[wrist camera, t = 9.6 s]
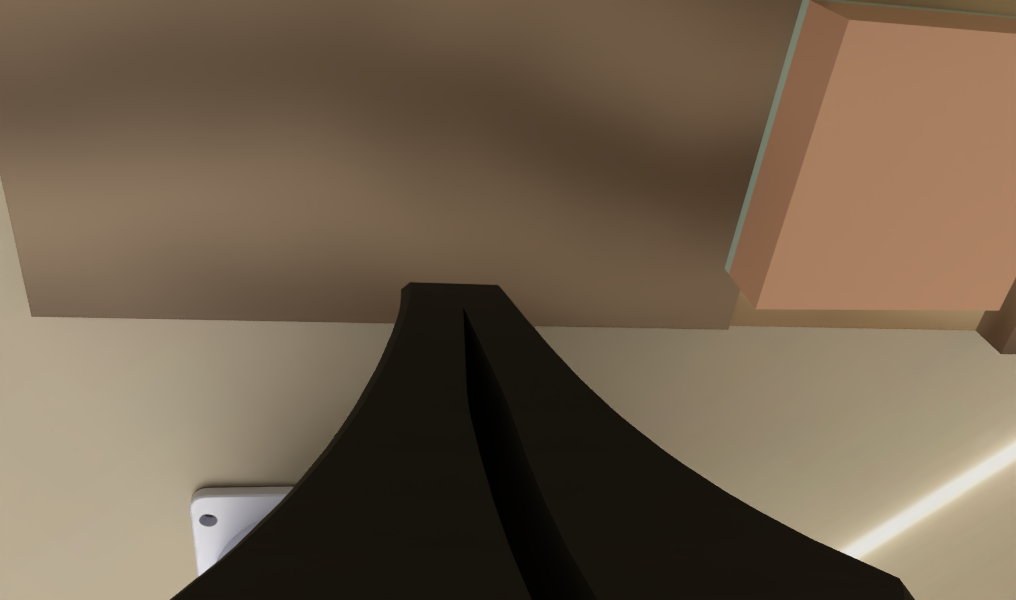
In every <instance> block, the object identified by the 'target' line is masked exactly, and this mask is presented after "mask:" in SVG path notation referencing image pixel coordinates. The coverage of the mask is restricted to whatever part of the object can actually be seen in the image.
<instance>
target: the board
mask: <svg viewBox="0 0 1016 600" xmlns="http://www.w3.org/2000/svg"><path fill="white" fill-rule="evenodd" d="M845 1H856V2H867V3H878V4H890V5H901V6H912V7H923V8H934V9H945V10H956V11H968V12H979V13H990V14H1001V15H1012V16H1016V0H845ZM801 3H802V0H0V176H1V180H2V185H3V189H4V194H5V198H6V203H7V207H8V212H9V216H10V221H11V225H12V230H13V234H14V239H15V243H16V248H17V252H18V257H19V261H20V266H21V270H22V275H23V280H24V284H25V289H26V293H27V298H28V302H29V307H30V311H31V316H32V317H84V318H137V319H191V320H245V321H298V322H352V323H396V320H397V317H398V313H399V309H400V298H401V289H402V288H403V287H405V286H406V285H407V284H408V283H410V282H420V283H454V284H489V285H499V286H500V287H501V289H502V290H503V291H504V292H505V293H506V294H507V296H508V297H509V298H510V299H511V300H512V302H513V303H514V304H515V305H516V307H517V308H518V309H519V310H520V311H521V313H522V314H523V315H524V316H525V318H526V319H527V320H528V321H529V322H530V324H531V325H532V326H566V327H620V328H673V329H727V330H728V328H729V326H775V327H826V328H878V329H929V330H976V331H977V332H978V333H979V334H980V335H981V336H982V337H983V338H984V339H985V340H986V341H987V342H989V343H990V344H991V345H992V346H993V347H994V348H995V349H996V350H997V351H998V352H999V353H1000V354H1016V278H1015V280H1014V282H1013V284H1012V286H1011V288H1010V290H1009V292H1008V294H1007V296H1006V298H1005V300H1004V302H1003V304H1002V306H1001V308H1000V310H999V311H988V310H784V309H755V308H754V307H753V305H752V304H751V303H750V301H749V300H748V299H747V297H746V296H745V295H744V293H743V292H742V291H741V290H740V288H739V287H738V286H737V284H736V283H735V282H734V280H733V279H732V278H731V276H730V275H729V274H728V273H727V271H726V270H725V269H724V268H725V265H726V261H727V258H728V255H729V251H730V248H731V244H732V241H733V237H734V234H735V230H736V227H737V224H738V220H739V217H740V213H741V210H742V206H743V203H744V199H745V196H746V193H747V189H748V186H749V182H750V179H751V175H752V172H753V168H754V165H755V162H756V158H757V155H758V151H759V148H760V144H761V141H762V137H763V134H764V131H765V127H766V124H767V120H768V117H769V113H770V110H771V107H772V103H773V100H774V96H775V93H776V89H777V86H778V82H779V79H780V76H781V72H782V69H783V65H784V62H785V58H786V55H787V51H788V48H789V45H790V41H791V38H792V34H793V31H794V27H795V24H796V20H797V17H798V14H799V10H800V7H801Z"/></svg>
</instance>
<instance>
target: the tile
mask: <svg viewBox="0 0 1016 600" xmlns="http://www.w3.org/2000/svg"><path fill="white" fill-rule="evenodd" d="M724 269H725V270H726V271H727V273H728V274H729V275H730V276H731V278H732V279H733V280H734V282H735V283H736V284H737V286H738V287H739V288H740V290H741V291H742V292H743V293H744V295H745V296H746V297H747V299H748V300H749V301H750V303H751V304H752V305H753V307H754V308H755V309H784V310H988V311H999V310H1000V308H1001V306H1002V304H1003V302H1004V300H1005V298H1006V296H1007V294H1008V292H1009V290H1010V288H1011V286H1012V284H1013V282H1014V280H1015V278H1016V16H1012V15H1001V14H990V13H979V12H968V11H956V10H945V9H934V8H923V7H912V6H901V5H890V4H878V3H867V2H856V1H845V0H802V3H801V7H800V10H799V14H798V17H797V20H796V24H795V27H794V31H793V34H792V38H791V41H790V45H789V48H788V51H787V55H786V58H785V62H784V65H783V69H782V72H781V76H780V79H779V82H778V86H777V89H776V93H775V96H774V100H773V103H772V107H771V110H770V113H769V117H768V120H767V124H766V127H765V131H764V134H763V137H762V141H761V144H760V148H759V151H758V155H757V158H756V162H755V165H754V168H753V172H752V175H751V179H750V182H749V186H748V189H747V193H746V196H745V199H744V203H743V206H742V210H741V213H740V217H739V220H738V224H737V227H736V230H735V234H734V237H733V241H732V244H731V248H730V251H729V255H728V258H727V261H726V265H725V268H724Z"/></svg>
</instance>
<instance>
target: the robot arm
mask: <svg viewBox="0 0 1016 600" xmlns="http://www.w3.org/2000/svg"><path fill="white" fill-rule="evenodd" d="M190 514H191V522H192V531H193V539H194V548H195V556H196V564H197V573H198V578H196V579H195V580H194V581H193V582H191V583H190V584H189V585H188V586H186V587H185V588H184V589H183V590H181V591H180V592H179V593H178V594H176V595H175V596H174V597H173V598H171V599H170V600H915V599H914V598H913V596H912V595H911V594H910V592H909V591H908V590H907V588H906V587H905V586H904V584H903V583H902V582H901V580H900V578H897V577H895V576H893V575H891V574H888V573H886V572H884V571H882V570H880V569H877V568H875V567H873V566H871V565H868V564H866V563H864V562H862V561H860V560H857V559H855V558H853V557H851V556H848V555H846V554H844V553H842V552H840V551H837V550H835V549H833V548H831V547H828V546H826V545H824V544H822V543H820V542H817V541H815V540H813V539H811V538H809V537H807V536H805V535H803V534H801V533H799V532H797V531H795V530H794V529H792V528H790V527H788V526H786V525H784V524H782V523H780V522H779V521H777V520H775V519H773V518H771V517H769V516H767V515H765V514H764V513H762V512H760V511H758V510H756V509H754V508H753V507H751V506H749V505H748V504H746V503H744V502H742V501H741V500H739V499H737V498H736V497H734V496H732V495H730V494H729V493H727V492H725V491H724V490H722V489H721V488H719V487H718V486H716V485H715V484H713V483H711V482H710V481H708V480H707V479H705V478H704V477H702V476H701V475H699V474H698V473H696V472H695V471H693V470H691V469H690V468H688V467H687V466H685V465H684V464H682V463H681V462H680V461H678V460H677V459H675V458H674V457H673V456H671V455H670V454H668V453H667V452H666V451H664V450H663V449H661V448H660V447H659V446H658V445H656V444H655V443H654V442H652V441H651V440H650V439H649V438H647V437H646V436H645V435H644V434H642V433H641V432H640V431H638V430H637V429H636V428H635V427H633V426H632V425H631V424H630V423H628V422H627V421H626V420H625V419H624V418H622V417H621V416H620V415H619V414H618V413H617V412H615V411H614V410H613V409H612V408H611V407H610V406H609V405H608V404H606V403H605V402H604V401H603V400H602V399H601V398H600V397H599V396H598V395H597V394H596V393H595V392H594V391H593V390H592V389H590V388H589V387H588V386H587V385H586V384H585V383H584V382H583V381H582V380H581V379H580V378H579V377H578V376H577V375H576V374H575V373H574V372H573V371H572V370H571V369H570V368H569V366H568V365H567V364H566V363H565V362H564V361H563V360H562V359H561V358H560V357H559V356H558V355H557V354H556V352H555V351H554V350H553V349H552V348H551V347H550V346H549V345H548V344H547V342H546V341H545V340H544V339H543V338H542V337H541V335H540V334H539V333H538V332H537V331H536V330H535V328H534V327H533V326H532V325H531V324H530V322H529V321H528V320H527V319H526V318H525V316H524V315H523V314H522V313H521V311H520V310H519V309H518V308H517V307H516V305H515V304H514V303H513V302H512V300H511V299H510V298H509V297H508V296H507V294H506V293H505V292H504V291H503V290H502V289H501V287H500V286H499V285H489V284H454V283H420V282H410V283H408V284H407V285H406V286H405V287H403V288H402V289H401V298H400V309H399V313H398V317H397V320H396V323H395V326H394V329H393V332H392V334H391V337H390V339H389V341H388V343H387V346H386V348H385V350H384V353H383V355H382V357H381V359H380V362H379V364H378V366H377V368H376V370H375V372H374V373H373V375H372V377H371V379H370V381H369V382H368V384H367V386H366V388H365V389H364V391H363V393H362V395H361V397H360V398H359V400H358V402H357V404H356V405H355V407H354V408H353V410H352V412H351V413H350V415H349V416H348V418H347V419H346V421H345V422H344V424H343V425H342V427H341V428H340V430H339V431H338V432H337V434H336V435H335V436H334V438H333V439H332V441H331V442H330V443H329V445H328V446H327V447H326V449H325V450H324V451H323V453H322V454H321V455H320V456H319V458H318V459H317V460H316V461H315V462H314V464H313V465H312V466H311V467H310V469H309V470H308V471H307V472H306V473H305V475H304V476H303V477H302V478H301V479H300V481H299V482H298V483H297V484H296V485H295V486H294V487H230V488H204V489H200V490H198V491H196V492H195V493H194V494H193V495H192V499H191V503H190ZM206 514H210V515H214V517H207V516H205V515H206Z"/></svg>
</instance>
